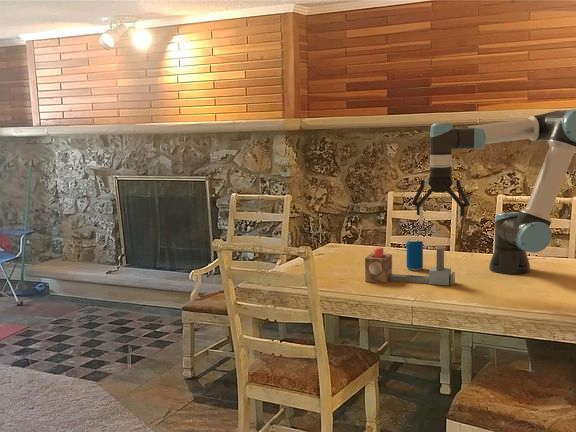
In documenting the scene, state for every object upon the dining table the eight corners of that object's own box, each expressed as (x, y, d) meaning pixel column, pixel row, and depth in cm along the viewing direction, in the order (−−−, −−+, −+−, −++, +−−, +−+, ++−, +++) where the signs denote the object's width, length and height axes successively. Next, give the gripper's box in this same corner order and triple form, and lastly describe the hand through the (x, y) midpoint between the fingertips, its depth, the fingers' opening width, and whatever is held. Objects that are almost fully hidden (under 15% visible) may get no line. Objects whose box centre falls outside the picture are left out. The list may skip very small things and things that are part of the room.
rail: (454, 282, 227) (455, 272, 227) (453, 285, 223) (453, 275, 222) (390, 278, 236) (390, 268, 236) (387, 281, 232) (387, 271, 231)
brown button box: (392, 276, 239) (391, 254, 237) (386, 283, 229) (385, 259, 228) (371, 275, 242) (371, 253, 240) (365, 281, 232) (364, 258, 231)
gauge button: (384, 262, 236) (384, 247, 235) (382, 264, 232) (382, 249, 231) (375, 261, 237) (375, 247, 236) (373, 263, 234) (372, 249, 233)
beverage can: (422, 271, 246) (423, 241, 245) (406, 270, 248) (406, 241, 246) (422, 267, 253) (422, 238, 251) (406, 267, 254) (406, 238, 252)
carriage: (450, 281, 228) (451, 246, 226) (448, 285, 223) (449, 250, 221) (431, 280, 231) (431, 245, 229) (429, 284, 225) (429, 249, 224)
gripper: (477, 165, 219) (476, 224, 223) (408, 165, 229) (407, 222, 232) (476, 167, 213) (474, 227, 216) (404, 167, 222) (403, 225, 225)
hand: (440, 224), depth 224 cm, fingers open, 13 cm apart
